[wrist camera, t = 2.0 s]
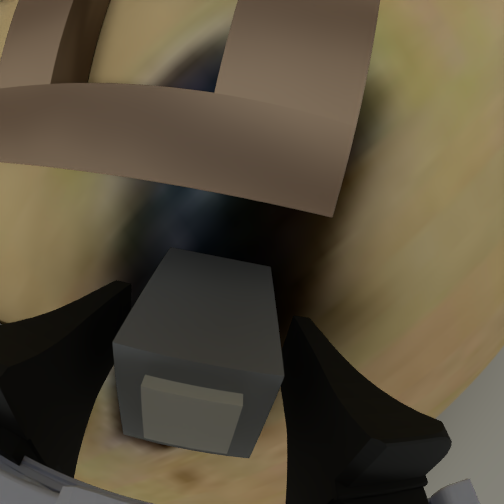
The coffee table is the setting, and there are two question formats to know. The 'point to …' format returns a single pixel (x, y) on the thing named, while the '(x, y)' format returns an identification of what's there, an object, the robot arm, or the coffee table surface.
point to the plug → (200, 355)
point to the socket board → (196, 102)
